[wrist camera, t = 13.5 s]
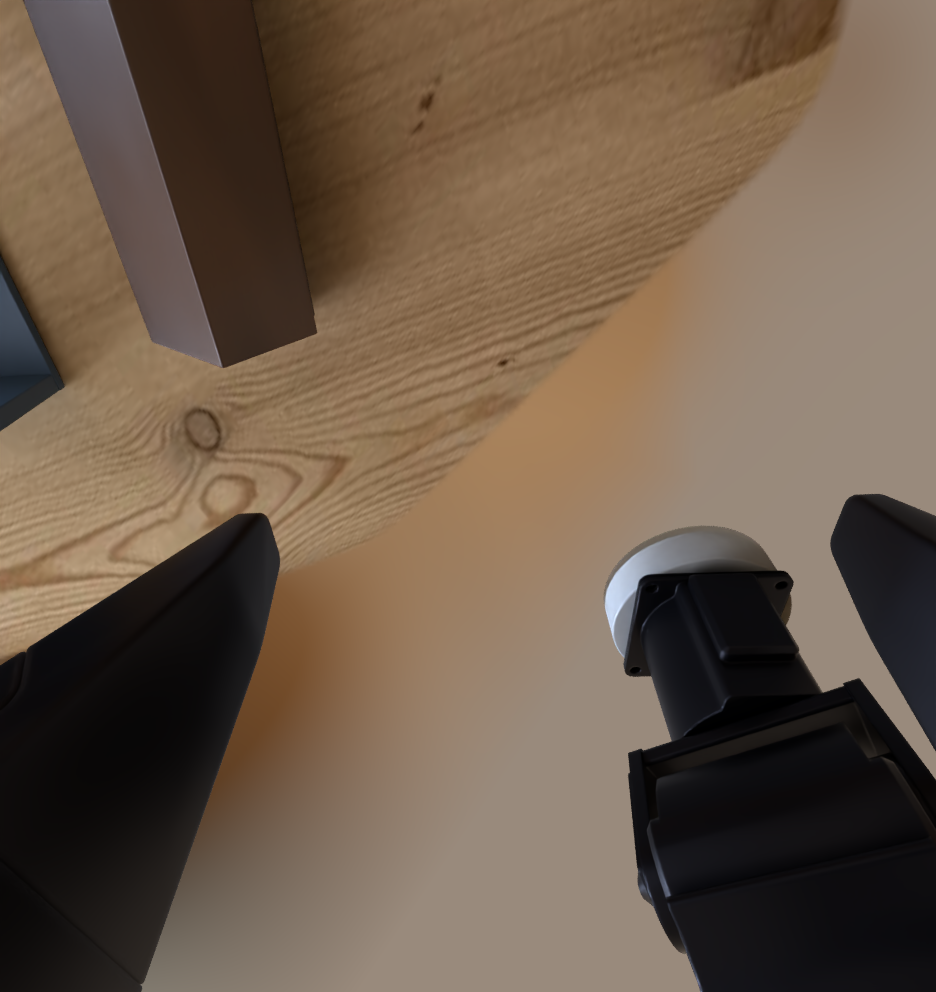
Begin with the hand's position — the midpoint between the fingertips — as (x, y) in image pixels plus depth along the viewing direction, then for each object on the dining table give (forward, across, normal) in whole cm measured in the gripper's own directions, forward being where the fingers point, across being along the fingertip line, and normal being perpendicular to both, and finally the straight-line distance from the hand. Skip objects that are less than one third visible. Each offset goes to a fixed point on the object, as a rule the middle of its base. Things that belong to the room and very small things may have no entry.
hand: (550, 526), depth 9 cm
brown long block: (+10, +6, -7) cm, 14 cm away
